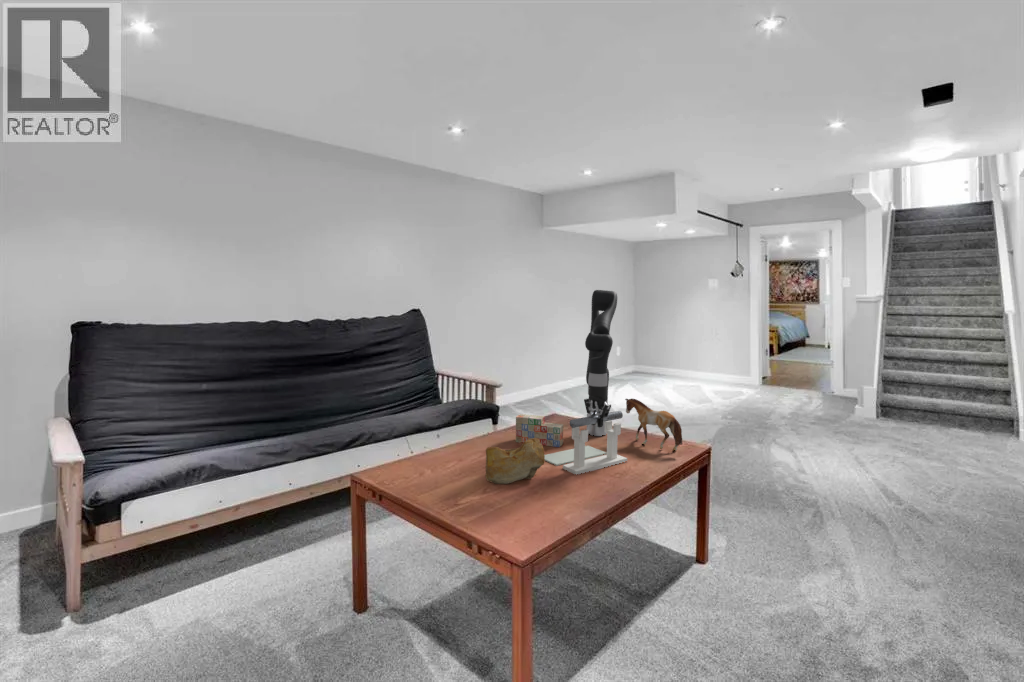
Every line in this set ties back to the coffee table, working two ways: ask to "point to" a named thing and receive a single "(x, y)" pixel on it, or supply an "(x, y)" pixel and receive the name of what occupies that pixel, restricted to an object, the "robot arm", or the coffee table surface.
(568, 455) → the mat
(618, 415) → the rail
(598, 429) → the robot arm
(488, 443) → the coffee table surface
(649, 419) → the horse figurine
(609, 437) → the rack
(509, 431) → the coffee table surface
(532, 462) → the rough brown rock
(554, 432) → the stack of blocks
